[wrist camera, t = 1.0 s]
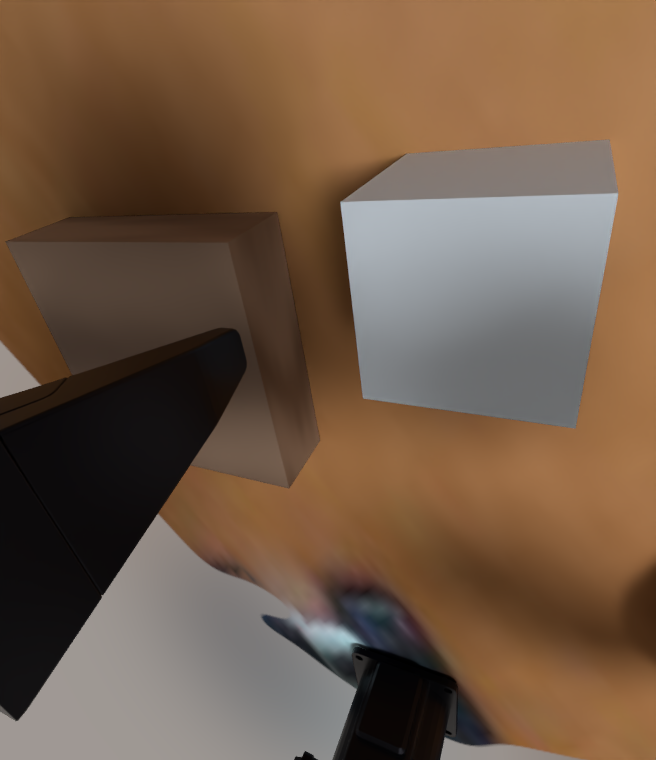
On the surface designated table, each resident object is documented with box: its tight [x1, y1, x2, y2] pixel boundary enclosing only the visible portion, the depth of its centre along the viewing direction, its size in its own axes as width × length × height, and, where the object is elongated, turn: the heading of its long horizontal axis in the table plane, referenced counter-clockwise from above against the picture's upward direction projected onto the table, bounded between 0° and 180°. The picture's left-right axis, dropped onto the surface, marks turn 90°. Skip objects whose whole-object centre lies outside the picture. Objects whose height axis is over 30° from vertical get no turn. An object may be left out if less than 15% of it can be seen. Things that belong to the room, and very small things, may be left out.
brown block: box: [6, 212, 320, 488], centre depth 20 cm, size 10×10×3 cm
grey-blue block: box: [340, 140, 618, 428], centre depth 12 cm, size 5×5×5 cm
